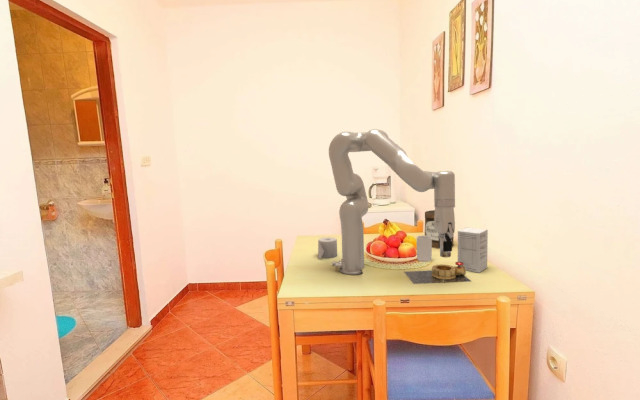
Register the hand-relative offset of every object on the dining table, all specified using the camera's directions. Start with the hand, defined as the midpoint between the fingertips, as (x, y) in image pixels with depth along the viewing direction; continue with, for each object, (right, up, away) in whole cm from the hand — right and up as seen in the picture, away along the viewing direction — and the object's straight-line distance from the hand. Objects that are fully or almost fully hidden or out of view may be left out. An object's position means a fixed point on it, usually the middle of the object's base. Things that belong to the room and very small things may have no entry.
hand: (445, 249), depth 137 cm
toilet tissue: (-46, -10, +39) cm, 61 cm away
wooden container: (+16, -6, +54) cm, 56 cm away
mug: (-1, -10, +26) cm, 27 cm away
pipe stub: (0, -3, 0) cm, 3 cm away
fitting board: (-3, -12, +2) cm, 13 cm away
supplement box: (+17, -10, +14) cm, 24 cm away
